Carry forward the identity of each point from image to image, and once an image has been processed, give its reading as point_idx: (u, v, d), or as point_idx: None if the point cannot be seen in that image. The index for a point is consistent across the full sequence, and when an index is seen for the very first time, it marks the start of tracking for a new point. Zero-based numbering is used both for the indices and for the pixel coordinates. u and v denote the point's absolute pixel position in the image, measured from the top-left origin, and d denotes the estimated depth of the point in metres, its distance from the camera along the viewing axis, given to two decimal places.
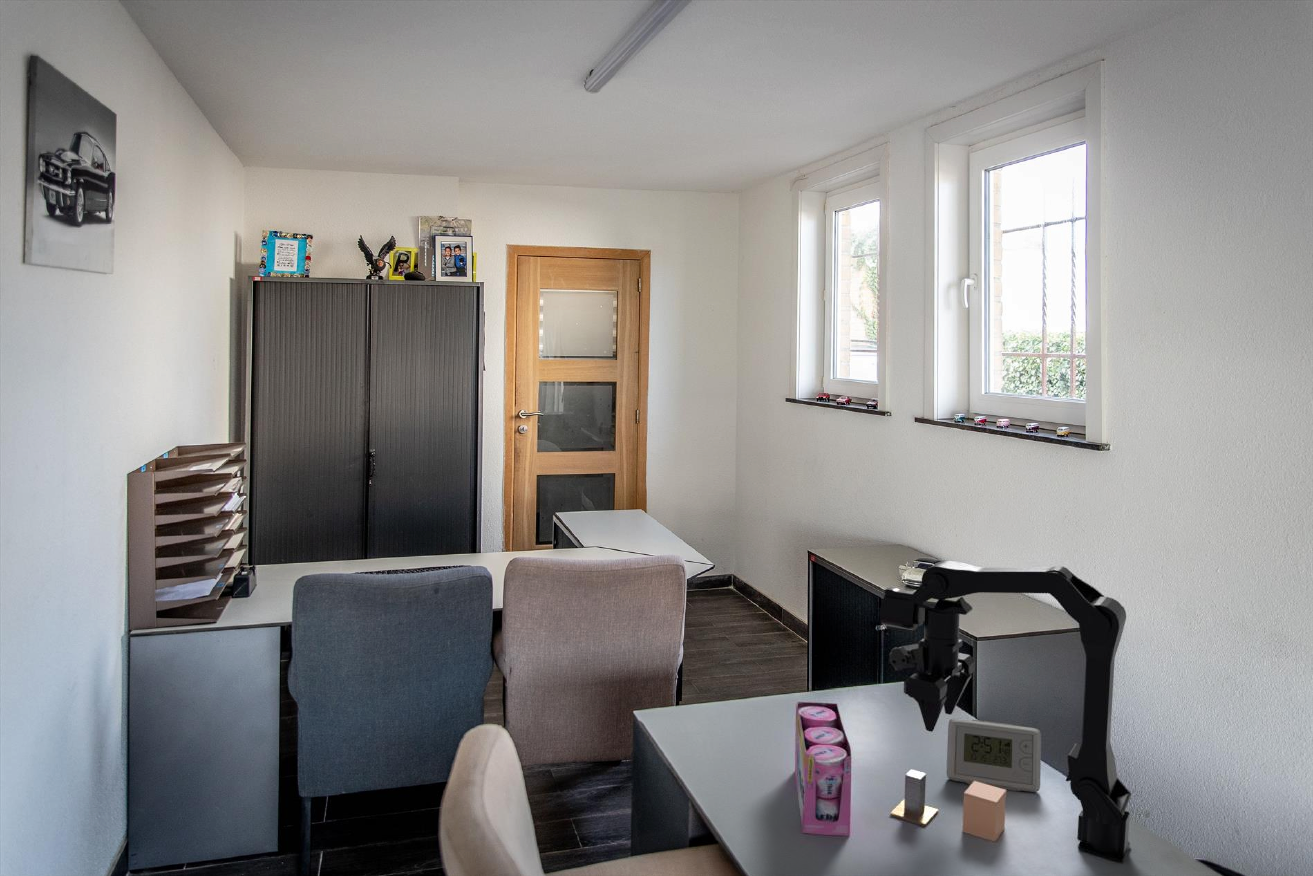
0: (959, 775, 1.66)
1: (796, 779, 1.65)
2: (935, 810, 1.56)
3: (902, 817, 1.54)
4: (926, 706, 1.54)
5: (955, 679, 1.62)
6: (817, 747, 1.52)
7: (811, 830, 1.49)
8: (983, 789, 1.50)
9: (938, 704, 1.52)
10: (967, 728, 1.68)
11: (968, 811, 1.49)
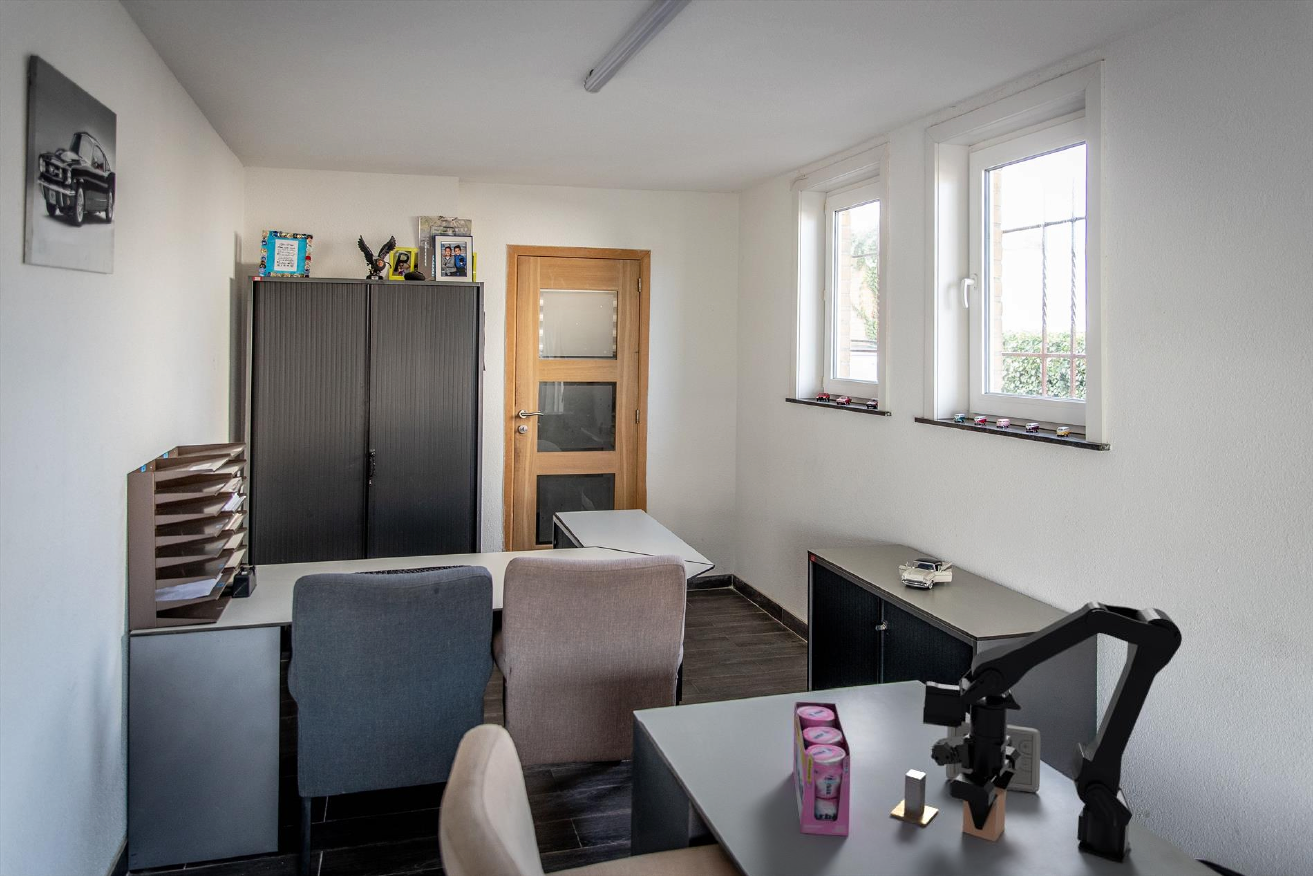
0: None
1: None
2: (935, 810, 1.56)
3: (902, 817, 1.54)
4: (976, 804, 1.47)
5: (997, 779, 1.52)
6: (816, 747, 1.52)
7: (810, 830, 1.49)
8: None
9: (989, 803, 1.45)
10: (966, 728, 1.68)
11: (968, 811, 1.49)
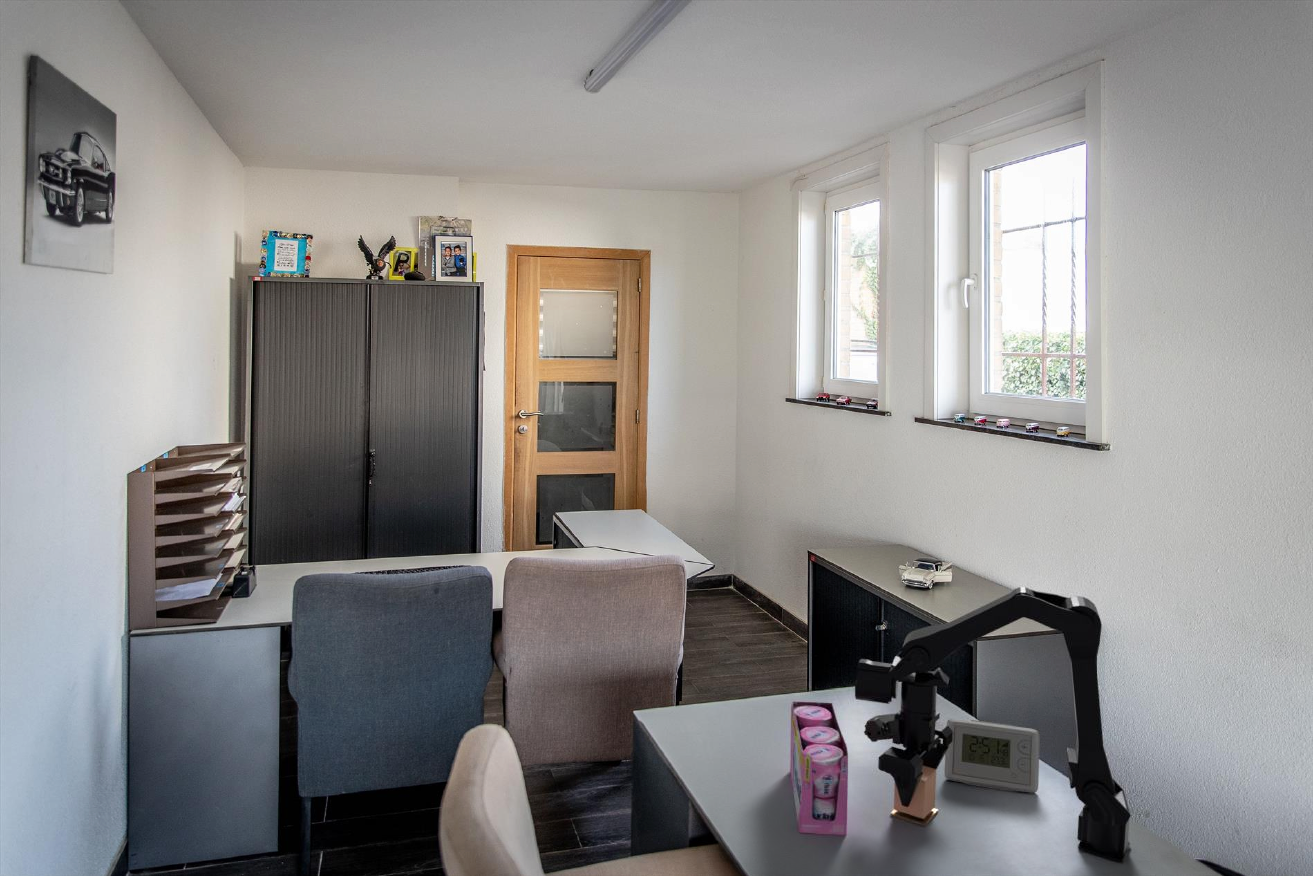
0: (957, 775, 1.66)
1: None
2: (935, 810, 1.56)
3: (902, 817, 1.54)
4: (902, 781, 1.50)
5: (931, 751, 1.58)
6: (813, 747, 1.52)
7: (808, 830, 1.49)
8: None
9: (914, 781, 1.48)
10: (965, 728, 1.68)
11: None
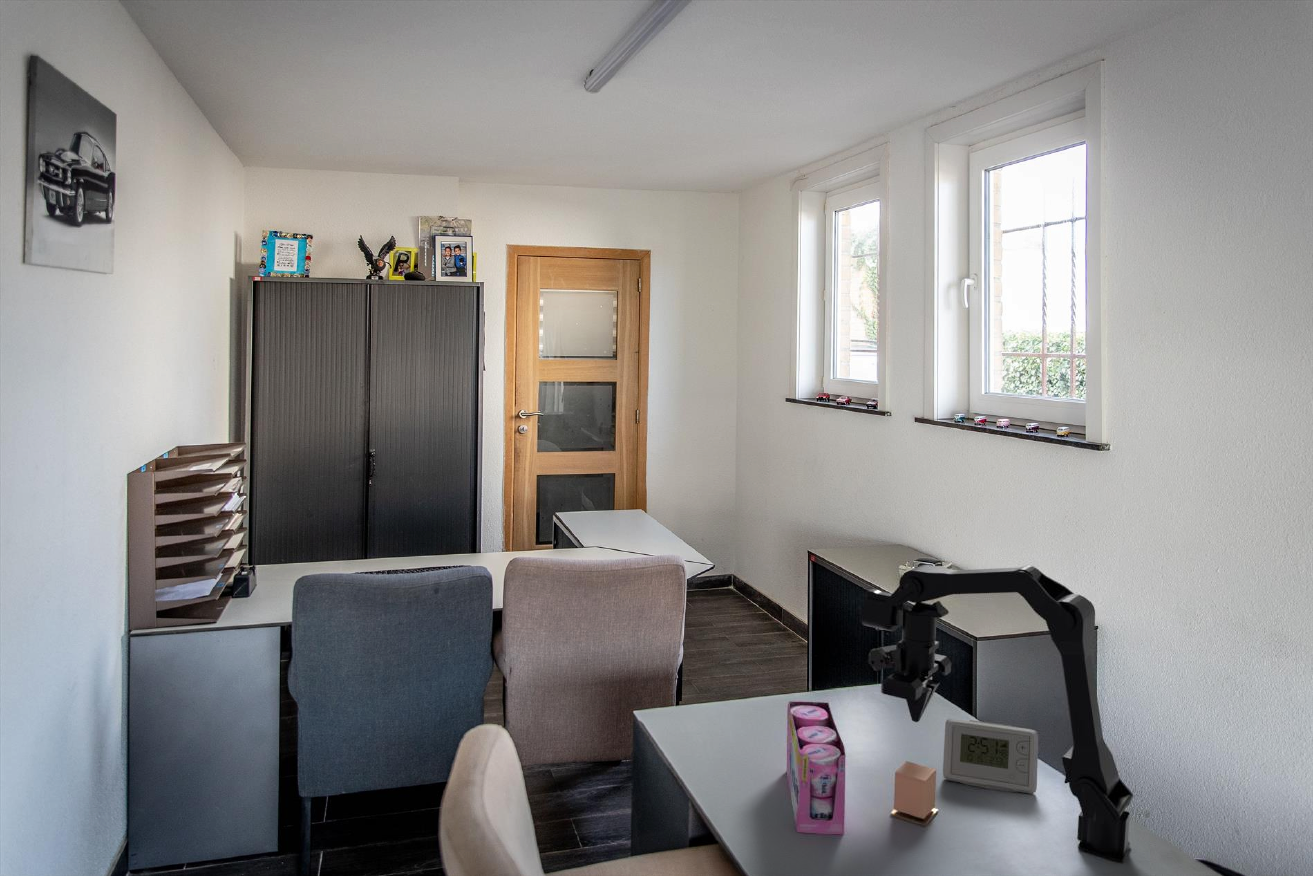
0: (955, 775, 1.66)
1: (788, 778, 1.66)
2: (935, 810, 1.56)
3: (902, 817, 1.54)
4: None
5: None
6: (811, 746, 1.52)
7: (805, 829, 1.49)
8: (913, 769, 1.55)
9: (923, 696, 1.61)
10: (963, 729, 1.68)
11: (899, 790, 1.54)
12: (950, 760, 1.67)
